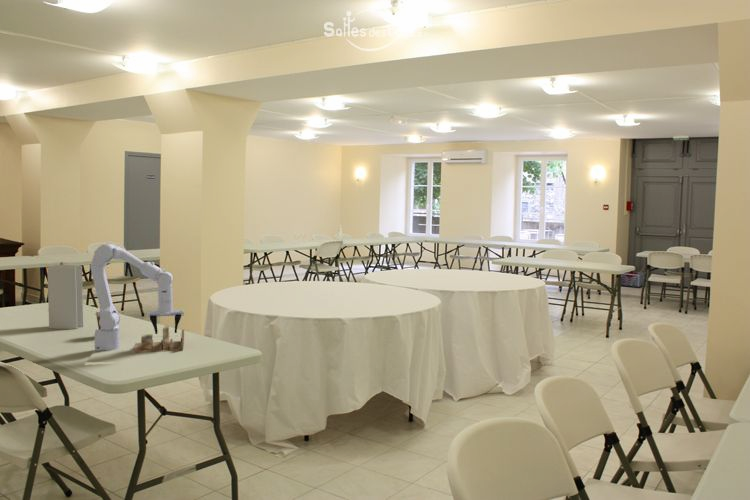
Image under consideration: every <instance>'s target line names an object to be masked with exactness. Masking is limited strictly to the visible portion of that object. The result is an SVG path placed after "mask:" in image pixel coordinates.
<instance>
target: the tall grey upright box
mask: <svg viewBox="0 0 750 500" xmlns="http://www.w3.org/2000/svg"><path fill="white" fill-rule="evenodd" d="M46 269H47V298H48V299H47V301H48V303H47V304H48V327H49V329H62V330H63V329H65V330H66V329H67V330H69V329H70V330H78V328H84V301H83V299H84V298H83V295H84V294H83V293H84V292H83V265H74V264H73V265H71V264H70V265H69V264H53V265H47V267H46Z"/></svg>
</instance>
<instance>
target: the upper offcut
mask: <svg viewBox="0 0 750 500" xmlns="http://www.w3.org/2000/svg"><path fill="white" fill-rule="evenodd" d="M153 338H154V336H153V334H150V333H149V334H146V333H145V334H142V335H141V338H140V341H141V342H140V343H152V340H153V341H154V339H153Z"/></svg>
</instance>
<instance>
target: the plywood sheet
mask: <svg viewBox="0 0 750 500" xmlns="http://www.w3.org/2000/svg"><path fill="white" fill-rule="evenodd" d="M162 336H163V337H162V340H163V349H168V347H169V342H170V325H169V324H168V325H167V324H166V325H163V328H162Z"/></svg>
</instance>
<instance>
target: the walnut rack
mask: <svg viewBox="0 0 750 500" xmlns="http://www.w3.org/2000/svg"><path fill="white" fill-rule="evenodd" d="M184 345H185V329H181V334H180V340H179V341H178V340H177V341H176V340H175V341H174V340H173V338H169V347H168V349H163V339H161V341H156V342H155V341H153V346H152V349H142V350H141V342H135V343H134V345H133V347H132V350H130V351H131V352H130V354H142V353H145V354H146V353H162V352H163V353H165V352H183V351H184V347H185V346H184Z"/></svg>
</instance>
